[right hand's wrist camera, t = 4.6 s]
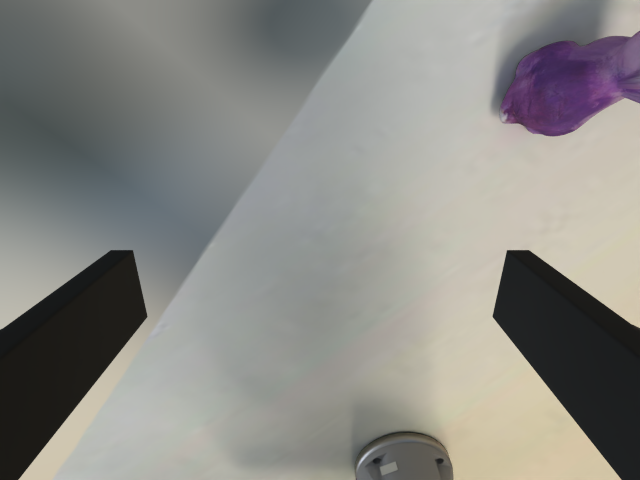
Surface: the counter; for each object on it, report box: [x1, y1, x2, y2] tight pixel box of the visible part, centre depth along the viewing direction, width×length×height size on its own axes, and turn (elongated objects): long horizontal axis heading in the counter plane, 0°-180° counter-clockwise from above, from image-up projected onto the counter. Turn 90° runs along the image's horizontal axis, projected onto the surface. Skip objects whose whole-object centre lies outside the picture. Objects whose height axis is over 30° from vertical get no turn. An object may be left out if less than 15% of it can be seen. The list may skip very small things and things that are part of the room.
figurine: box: [499, 31, 640, 136], centre depth 28 cm, size 9×10×15 cm
